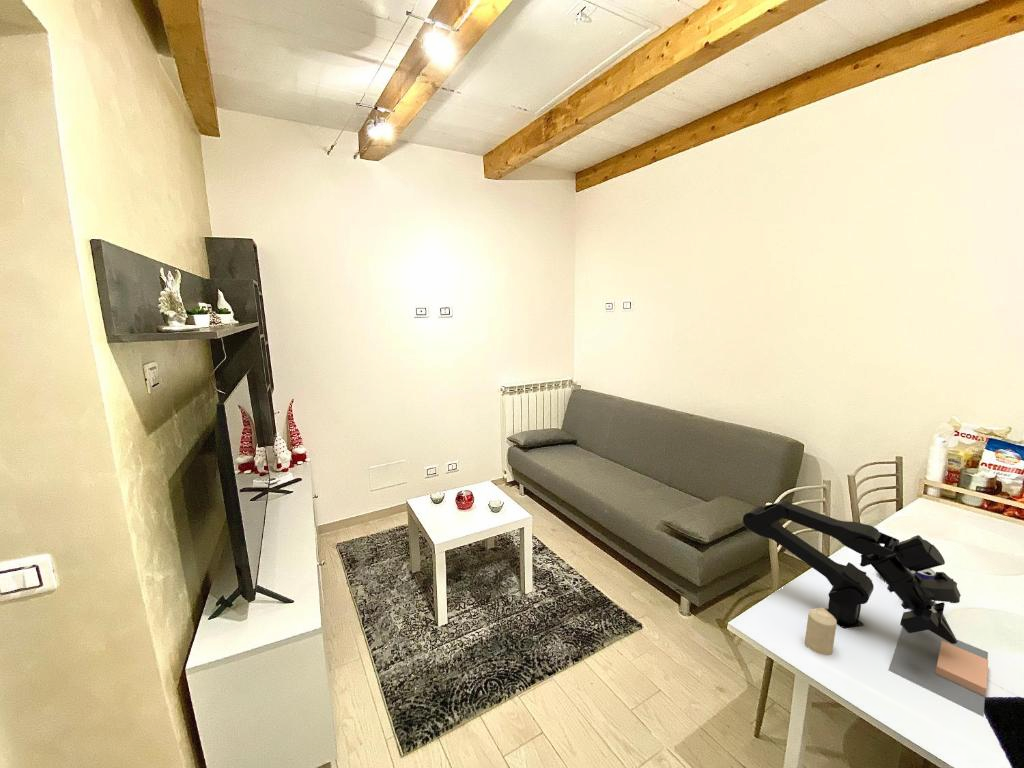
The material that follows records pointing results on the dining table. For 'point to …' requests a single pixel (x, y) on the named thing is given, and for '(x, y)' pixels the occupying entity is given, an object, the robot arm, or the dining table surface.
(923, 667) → the mat
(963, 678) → the tile
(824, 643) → the candle
